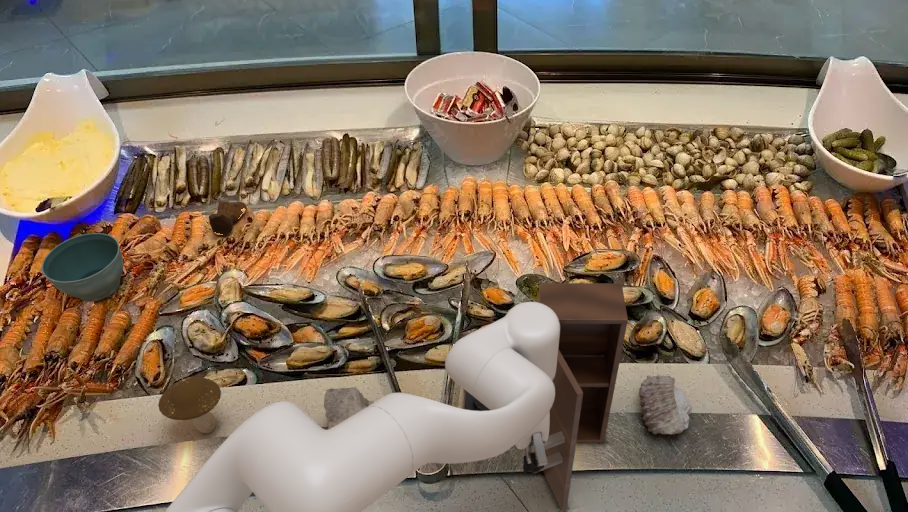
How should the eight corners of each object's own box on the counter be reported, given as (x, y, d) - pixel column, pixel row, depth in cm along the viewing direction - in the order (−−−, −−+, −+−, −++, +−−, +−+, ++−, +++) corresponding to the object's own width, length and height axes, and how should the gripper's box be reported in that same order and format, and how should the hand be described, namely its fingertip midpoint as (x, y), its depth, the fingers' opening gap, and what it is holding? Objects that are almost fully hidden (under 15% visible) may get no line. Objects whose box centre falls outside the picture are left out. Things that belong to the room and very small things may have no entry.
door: (533, 523, 120) (541, 407, 95) (504, 456, 130) (505, 335, 104) (566, 509, 122) (583, 392, 97) (536, 444, 131) (543, 322, 106)
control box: (513, 420, 136) (513, 411, 133) (464, 420, 135) (464, 411, 133) (513, 374, 144) (513, 364, 142) (467, 374, 144) (466, 364, 141)
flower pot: (150, 274, 165) (134, 242, 158) (98, 321, 154) (78, 289, 146) (100, 257, 169) (82, 225, 162) (46, 301, 158) (24, 270, 151)
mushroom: (184, 409, 137) (159, 365, 127) (241, 406, 137) (220, 363, 127) (170, 450, 130) (142, 407, 120) (229, 447, 131) (206, 405, 121)
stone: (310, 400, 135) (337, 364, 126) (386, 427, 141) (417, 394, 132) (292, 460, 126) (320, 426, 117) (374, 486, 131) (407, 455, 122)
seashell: (699, 440, 129) (678, 407, 125) (654, 453, 133) (633, 421, 128) (689, 386, 142) (670, 354, 138) (649, 399, 145) (629, 368, 141)
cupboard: (603, 442, 132) (628, 319, 107) (533, 442, 132) (540, 319, 106) (599, 407, 138) (621, 283, 112) (532, 407, 138) (539, 282, 112)
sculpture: (197, 209, 166) (221, 174, 178) (196, 238, 173) (220, 202, 184) (229, 218, 167) (252, 182, 179) (228, 246, 174) (249, 210, 185)
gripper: (487, 333, 98) (488, 400, 110) (519, 435, 86) (516, 498, 97) (536, 324, 100) (532, 390, 111) (574, 423, 87) (564, 486, 99)
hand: (524, 440), depth 104 cm, fingers open, 9 cm apart
